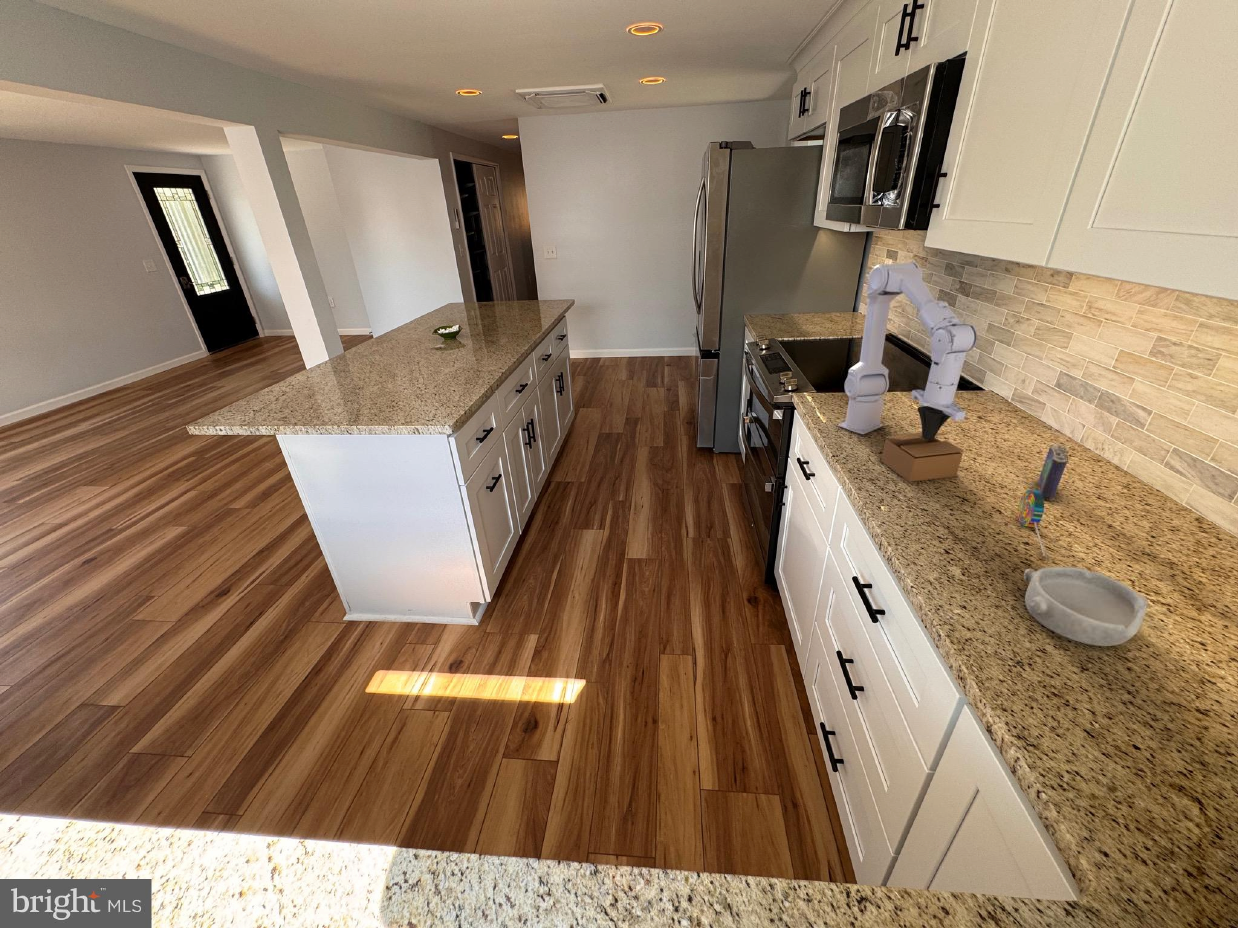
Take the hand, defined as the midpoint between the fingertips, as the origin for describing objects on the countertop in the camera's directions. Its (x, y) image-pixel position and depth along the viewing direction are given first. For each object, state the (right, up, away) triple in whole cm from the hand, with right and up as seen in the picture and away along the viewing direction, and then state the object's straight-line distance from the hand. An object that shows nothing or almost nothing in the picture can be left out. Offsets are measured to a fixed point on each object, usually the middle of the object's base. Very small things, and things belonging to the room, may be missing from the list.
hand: (928, 437), depth 117 cm
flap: (0, +1, +4) cm, 4 cm away
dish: (-1, -30, -39) cm, 49 cm away
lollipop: (+8, -20, -20) cm, 29 cm away
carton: (0, -7, +5) cm, 8 cm away
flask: (+22, -12, -7) cm, 26 cm away
